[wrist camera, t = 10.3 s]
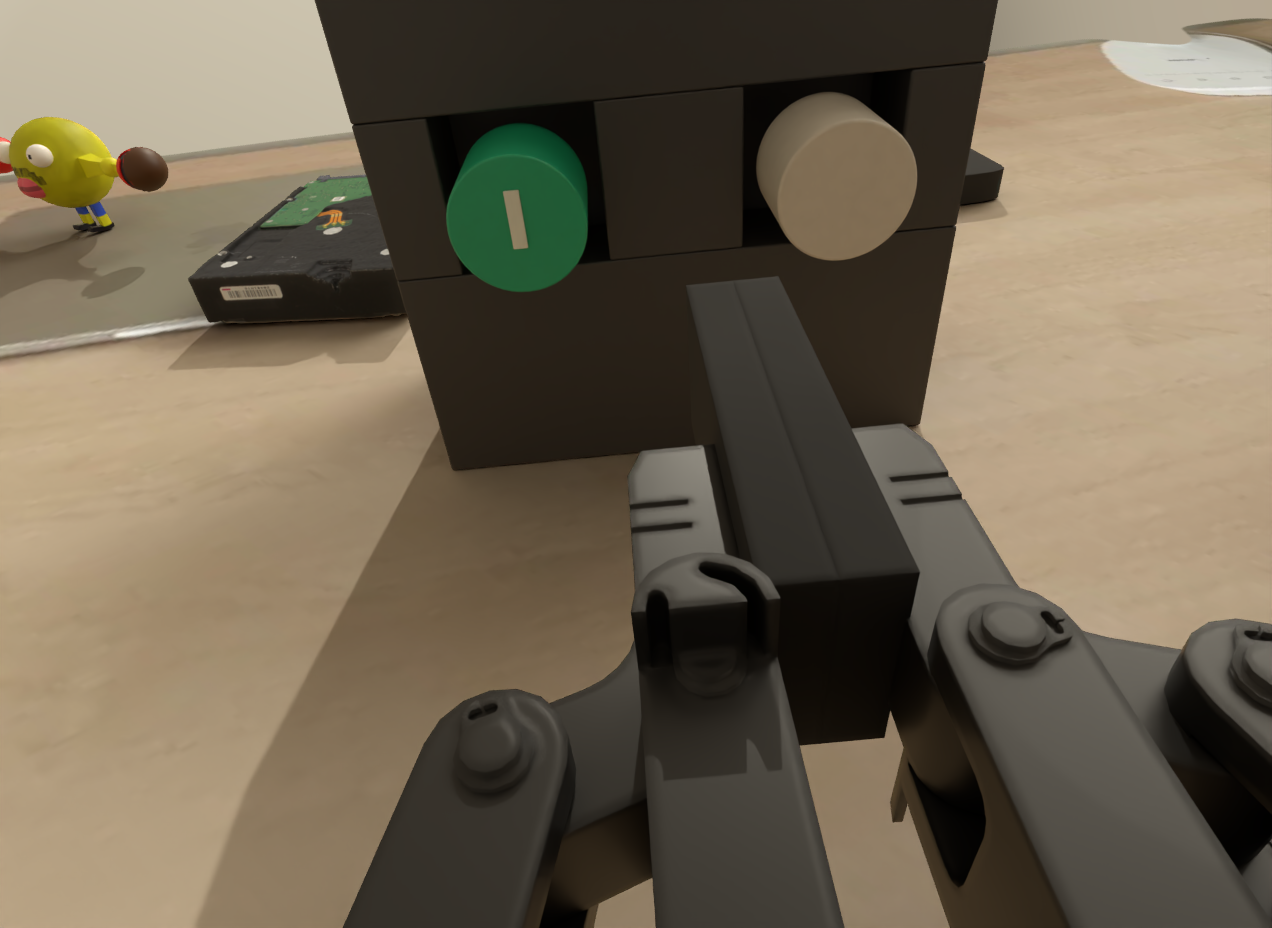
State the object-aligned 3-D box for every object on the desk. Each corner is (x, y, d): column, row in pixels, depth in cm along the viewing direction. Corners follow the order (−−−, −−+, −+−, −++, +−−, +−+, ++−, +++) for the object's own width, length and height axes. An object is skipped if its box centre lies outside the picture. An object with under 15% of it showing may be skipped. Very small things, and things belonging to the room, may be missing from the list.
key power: (595, 287, 19) (578, 148, 17) (462, 300, 19) (429, 163, 17) (593, 243, 22) (578, 116, 19) (475, 254, 22) (448, 129, 19)
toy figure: (-23, 231, 51) (-90, 125, 47) (56, 203, 55) (1, 103, 51) (145, 261, 44) (83, 139, 40) (223, 226, 48) (174, 112, 44)
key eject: (907, 255, 19) (929, 111, 17) (775, 268, 19) (779, 127, 17) (872, 215, 22) (887, 85, 19) (754, 226, 22) (756, 98, 19)
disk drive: (419, 323, 35) (484, 207, 47) (402, 267, 33) (474, 160, 45) (208, 333, 36) (323, 217, 48) (181, 279, 34) (307, 171, 46)
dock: (920, 425, 26) (1014, -82, 17) (452, 471, 26) (310, -10, 17) (853, 317, 32) (897, -92, 23) (477, 354, 32) (384, -40, 23)
